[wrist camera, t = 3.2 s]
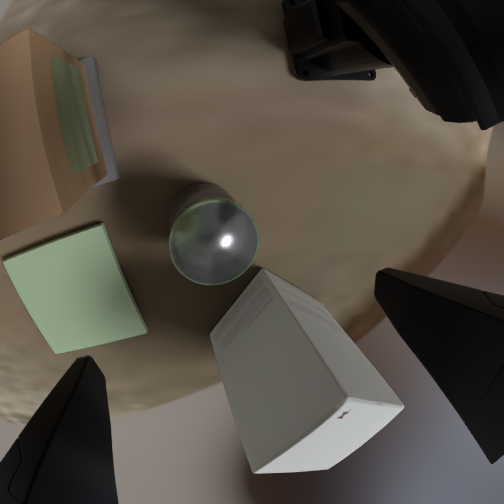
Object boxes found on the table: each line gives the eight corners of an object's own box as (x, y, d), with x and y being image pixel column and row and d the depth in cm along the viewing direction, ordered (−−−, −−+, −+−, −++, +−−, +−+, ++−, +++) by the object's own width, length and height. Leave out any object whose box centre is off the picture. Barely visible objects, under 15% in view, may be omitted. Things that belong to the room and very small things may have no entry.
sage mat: (103, 222, 17) (101, 225, 16) (147, 328, 21) (147, 333, 21) (6, 258, 15) (2, 262, 15) (57, 349, 20) (55, 354, 19)
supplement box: (206, 334, 23) (246, 475, 12) (262, 264, 22) (352, 396, 11) (271, 359, 26) (327, 472, 15) (323, 302, 25) (409, 407, 14)
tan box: (95, 58, 12) (41, 10, 5) (120, 176, 16) (80, 222, 8) (5, 101, 11) (-81, 102, 3) (31, 210, 15) (-41, 273, 7)
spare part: (230, 173, 18) (251, 190, 14) (242, 237, 20) (265, 271, 16) (160, 191, 17) (157, 214, 13) (178, 255, 20) (183, 295, 15)
